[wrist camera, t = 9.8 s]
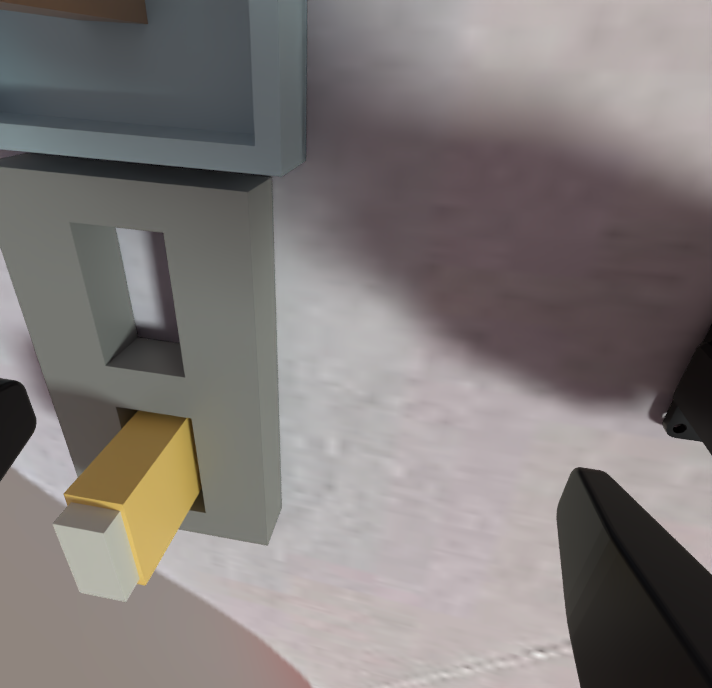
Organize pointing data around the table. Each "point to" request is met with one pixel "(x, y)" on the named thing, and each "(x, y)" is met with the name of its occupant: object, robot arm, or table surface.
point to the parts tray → (161, 85)
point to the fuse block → (192, 307)
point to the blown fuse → (83, 9)
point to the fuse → (129, 504)
